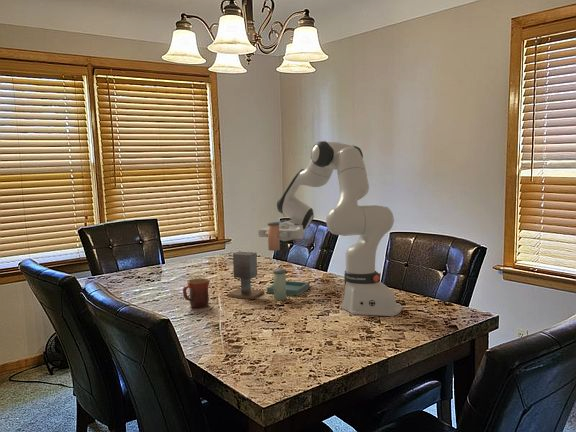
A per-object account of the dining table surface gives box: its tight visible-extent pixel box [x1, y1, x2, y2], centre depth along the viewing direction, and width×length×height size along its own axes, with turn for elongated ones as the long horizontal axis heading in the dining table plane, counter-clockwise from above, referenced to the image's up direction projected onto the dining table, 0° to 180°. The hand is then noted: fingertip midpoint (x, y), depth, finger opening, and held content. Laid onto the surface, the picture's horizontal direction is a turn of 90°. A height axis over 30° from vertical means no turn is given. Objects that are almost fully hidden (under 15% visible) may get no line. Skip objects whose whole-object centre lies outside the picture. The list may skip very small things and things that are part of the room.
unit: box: [227, 251, 265, 301], centre depth 203 cm, size 12×10×18 cm
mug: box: [182, 277, 210, 309], centre depth 188 cm, size 12×9×10 cm
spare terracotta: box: [267, 221, 281, 252], centre depth 210 cm, size 5×5×12 cm
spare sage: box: [272, 268, 287, 301], centre depth 197 cm, size 5×5×12 cm
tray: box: [266, 280, 310, 297], centre depth 210 cm, size 14×14×2 cm
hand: (272, 235), depth 209 cm, fingers closed on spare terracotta, 5 cm apart
